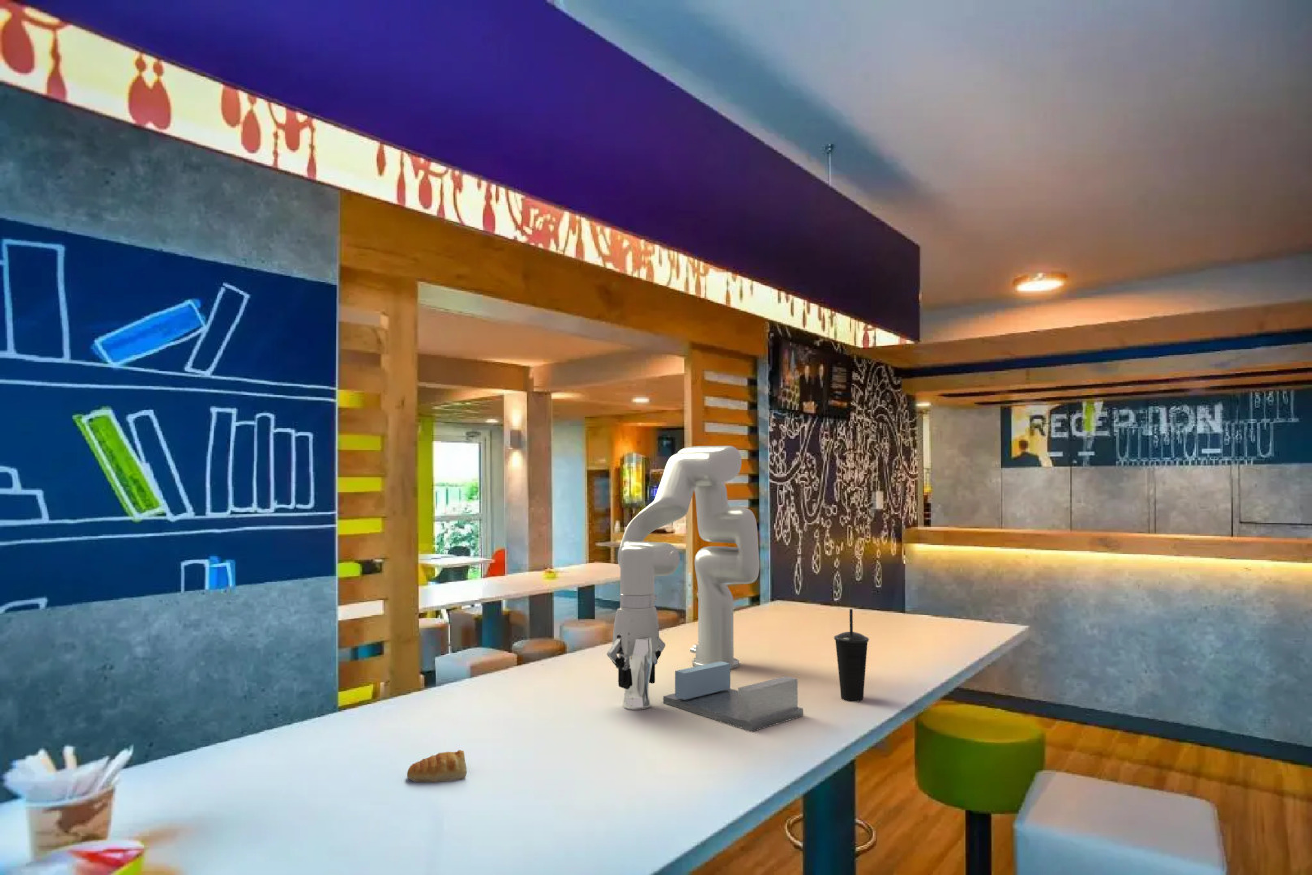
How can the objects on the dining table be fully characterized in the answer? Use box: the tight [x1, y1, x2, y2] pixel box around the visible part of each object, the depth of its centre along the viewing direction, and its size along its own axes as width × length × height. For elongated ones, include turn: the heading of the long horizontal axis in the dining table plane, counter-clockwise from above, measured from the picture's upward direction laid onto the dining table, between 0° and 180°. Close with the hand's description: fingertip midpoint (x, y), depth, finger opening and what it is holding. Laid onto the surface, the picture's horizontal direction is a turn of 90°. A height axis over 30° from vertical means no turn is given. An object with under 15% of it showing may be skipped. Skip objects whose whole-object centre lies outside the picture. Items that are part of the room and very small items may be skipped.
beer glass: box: [621, 637, 653, 711], centre depth 166 cm, size 7×7×15 cm
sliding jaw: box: [674, 661, 731, 700], centre depth 170 cm, size 3×14×6 cm, turn 131°
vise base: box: [662, 675, 804, 732], centre depth 164 cm, size 26×16×8 cm, turn 41°
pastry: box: [406, 749, 468, 783], centre depth 125 cm, size 9×7×4 cm
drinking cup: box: [833, 608, 870, 702], centre depth 173 cm, size 8×8×20 cm
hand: (636, 684), depth 166 cm, fingers closed on beer glass, 6 cm apart
